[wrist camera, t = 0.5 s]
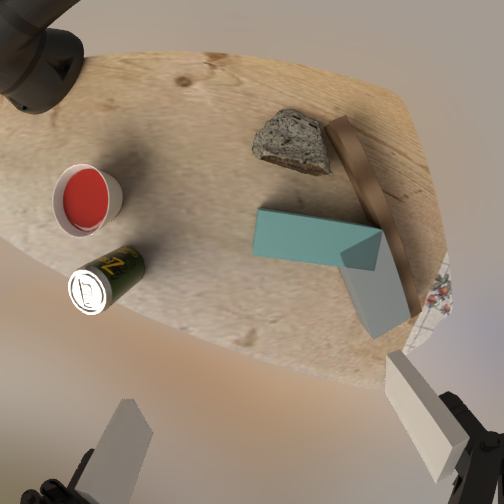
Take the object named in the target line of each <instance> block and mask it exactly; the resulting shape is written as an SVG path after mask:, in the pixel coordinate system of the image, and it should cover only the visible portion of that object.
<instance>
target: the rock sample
mask: <svg viewBox="0 0 504 504" xmlns="http://www.w3.org/2000/svg"><path fill="white" fill-rule="evenodd" d="M265 122H266V121H265ZM323 138H324V137H323V136H322V132H321V130H320V128H319V123H318V121H315V120H313V119H311V118H309V117H306V116H304V115H302V114H301V113H298V112H296V111H294V110H281V111H279V112H278V113H277V114H276V116H275V117H274V118H273V119H272V120H269V121H267V122H266V124H265V127H264V128H262V129H260V130H259V131H258V132H257V133H256V135H255V138H254V142H253V147H252V151H253V154H254V155H255V157H257V158H258V159H260V160H265V161H267V162H270V163H273V164H277V165H279V166H282V167H285V168H289V169H292V170H296V171H299V172H300V173H305V174H307V173H308V174H311V175H314V176H321V175H327V174H328V175H329V174H330V175H332V174H333V172H331V170H330V166H329V165H330V160H329V157H328V153H327V147H326V145H325V142H324V140H323ZM251 139H252V138H251ZM330 175H329V176H330ZM329 176H328V177H329Z"/></svg>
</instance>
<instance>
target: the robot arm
mask: <svg viewBox="0 0 504 504" xmlns="http://www.w3.org/2000/svg"><path fill="white" fill-rule="evenodd" d="M79 1H80V0H0V94H2V95H4V96H5V97H6V98H7V99H8V100H9V101H10V102H11V103H12V104H13V105H14V106H15V107H16V108H17V109H18V110H20V111H22V112H25V113H28V114H34V115H35V114H41V113H44V112H46V111H48V110H49V109H51V108H52V107H54V106H55V105H56V104H57V103H58V102H60V101H61V100H62V98H63V97H64V96H65V95H66V94H67V93H68V91H69V90H70V88H71V87H72V85H73V84H74V82H75V80H76V79H77V77H78V74H79V72H80V69H81V67H82V63H83V58H84V48H83V44H82V42H81V40H80V39H79V38H78V37H76V36H75V35H74V34H72V33H71V32H69V31H65V30H59V29H52V28H47V27H48V26H49V25H50V24H52V23H53V22H54V21H55V20H56V19H57V18H59V17H60V16H61V15H62V14H63V13H65V12H66V11H67V10H68V9H69V8H71V7H72V6H73V5H75V4H76V3H77V2H79ZM385 394H386V396H387V397H388V399H389V401H390V403H391V404H392V406H393V408H394V409H395V411H396V413H397V414H398V416H399V418H400V420H401V421H402V423H403V425H404V427H405V428H406V430H407V432H408V434H409V435H410V437H411V439H412V440H413V443H414V444H415V446H416V448H417V450H418V451H419V453H420V455H421V457H422V459H423V460H424V462H425V464H426V466H427V468H428V470H429V472H430V473H431V475H432V477H433V479H434V481H435V483H437V482H439V481H441V480H443V479H445V478H447V477H449V476H451V475H452V473H453V471H454V469H456V471H457V472H458V476H457V478H456V479H455V481H454V483H453V485H454V488H453V491H452V494H451V497H450V499H449V502H448V504H492V502H493V498H494V494H495V490H496V485H497V481H498V504H504V433H502V434H498V433H497V432H493V431H489V432H488V431H487V430H486V429H485V428H484V427H483V426H482V424H481V423H480V422H479V421H478V420H477V418H476V417H475V416H474V415H473V414H472V412H471V411H470V410H468V408H467V406H466V405H465V404H463V402H462V401H461V399H460V398H459V397H458V396H457V395H455V394H453V393H451V392H449V391H448V392H446V393H444V394H441V395H439V396H438V395H437V394H436V393H435V392H434V390H433V389H432V388H431V387H430V386H429V384H428V383H427V382H426V380H425V379H424V378H423V377H422V376H421V374H420V373H419V372H418V371H417V370H416V368H415V367H414V366H413V365H412V363H411V362H410V361H409V360H408V359H407V357H406V356H405V355H404V354H403V353H402V351H401V350H397V351H394V352H391V353H389V354H387V356H386V390H385ZM152 435H153V431H152V430H151V428H150V426H149V425H148V423H147V421H146V420H145V418H144V416H143V415H142V413H141V411H140V409H139V408H138V406H137V404H136V402H135V400H134V399H122V400H121V402H120V404H119V405H118V407H117V409H116V411H115V413H114V414H113V416H112V418H111V420H110V422H109V424H108V425H107V428H106V429H105V431H104V433H103V435H102V437H101V439H100V440H99V442H98V444H97V446H96V448H95V449H90V450H89V451H88V452H87V453H86V454H85V455H84V456H83V458H82V460H81V463H80V464H79V466H78V469H76V471H75V473H74V475H73V477H72V479H71V481H70V483H69V485H68V487H67V488H66V487H65V486H64V485H63V484H62V483H61V482H60V481H58V480H57V479H49V480H47V481H45V482H44V483H43V484H42V485H41V487H40V493H41V494H42V495H43V496H41V495H40V494H39V493H38V492H37V491H36V490H33V489H30V490H27V491H25V492H24V493H23V495H22V497H21V502H20V504H129V501H130V498H131V495H132V492H133V490H134V487H135V483H136V481H137V478H138V475H139V472H140V469H141V466H142V464H143V460H144V457H145V455H146V452H147V449H148V447H149V444H150V441H151V438H152Z"/></svg>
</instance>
